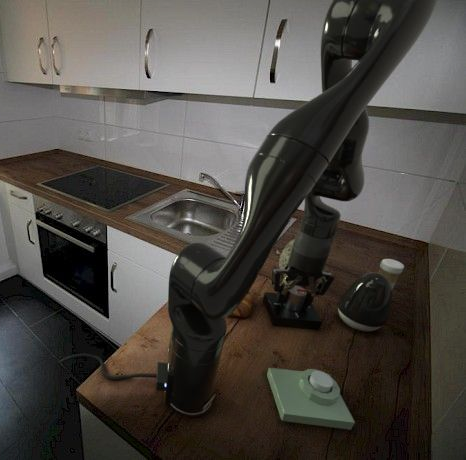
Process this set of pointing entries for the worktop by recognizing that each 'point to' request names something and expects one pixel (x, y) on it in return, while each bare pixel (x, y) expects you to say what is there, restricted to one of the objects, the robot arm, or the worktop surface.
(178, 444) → the worktop surface
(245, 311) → the croissant
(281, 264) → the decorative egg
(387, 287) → the black rounded dome
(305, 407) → the push button base
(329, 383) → the push button
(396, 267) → the sprinkles bottle
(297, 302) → the lock dial
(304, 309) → the lock panel
